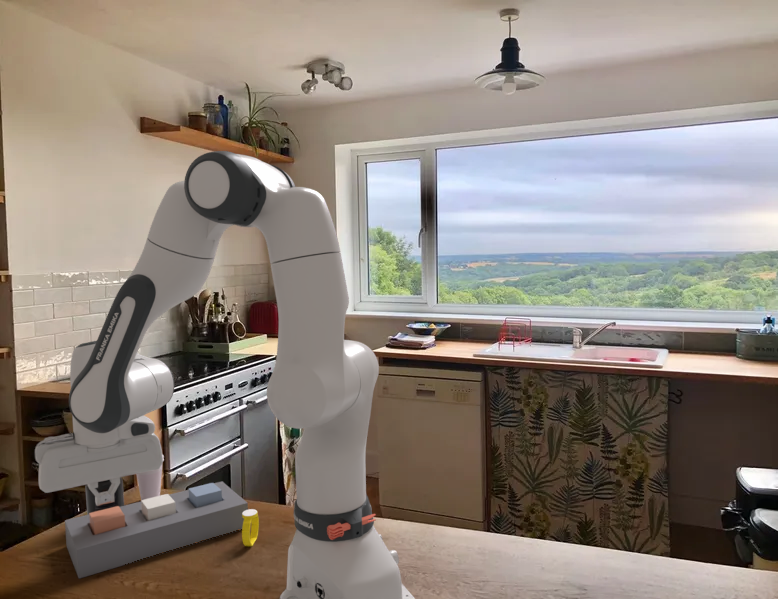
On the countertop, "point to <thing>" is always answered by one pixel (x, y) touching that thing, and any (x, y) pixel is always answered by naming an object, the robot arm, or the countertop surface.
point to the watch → (249, 519)
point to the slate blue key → (204, 495)
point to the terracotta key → (106, 520)
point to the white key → (158, 507)
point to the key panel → (151, 532)
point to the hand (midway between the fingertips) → (105, 502)
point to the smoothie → (150, 483)
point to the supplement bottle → (104, 487)
